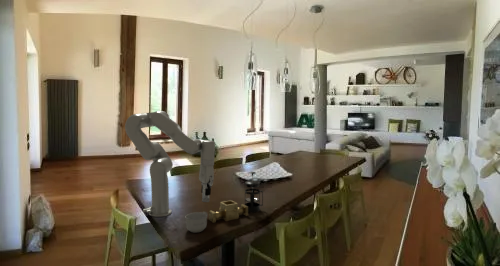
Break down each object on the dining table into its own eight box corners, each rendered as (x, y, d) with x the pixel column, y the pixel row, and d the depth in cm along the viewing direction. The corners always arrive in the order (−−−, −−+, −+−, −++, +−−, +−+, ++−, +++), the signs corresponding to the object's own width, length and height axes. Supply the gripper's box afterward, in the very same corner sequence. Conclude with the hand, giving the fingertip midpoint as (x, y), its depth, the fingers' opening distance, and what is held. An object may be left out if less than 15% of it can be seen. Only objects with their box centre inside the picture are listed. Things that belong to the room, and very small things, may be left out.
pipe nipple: (203, 202, 187) (204, 181, 186) (200, 200, 191) (201, 179, 189) (210, 201, 189) (211, 181, 188) (207, 199, 193) (208, 179, 192)
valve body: (214, 223, 177) (214, 208, 176) (207, 219, 184) (207, 204, 183) (249, 216, 189) (249, 201, 189) (241, 212, 196) (241, 198, 195)
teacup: (194, 236, 160) (194, 220, 160) (180, 230, 168) (180, 215, 167) (215, 228, 171) (215, 213, 170) (202, 223, 178) (202, 208, 177)
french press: (242, 212, 196) (242, 173, 194) (244, 207, 206) (244, 170, 203) (262, 212, 195) (262, 174, 193) (263, 207, 205) (263, 170, 202)
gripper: (195, 159, 193) (193, 190, 194) (207, 165, 179) (206, 198, 181) (206, 159, 197) (205, 189, 199) (220, 164, 183) (218, 197, 185)
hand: (205, 193), depth 190 cm, fingers closed on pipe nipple, 4 cm apart
